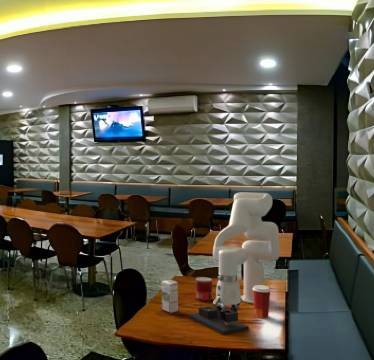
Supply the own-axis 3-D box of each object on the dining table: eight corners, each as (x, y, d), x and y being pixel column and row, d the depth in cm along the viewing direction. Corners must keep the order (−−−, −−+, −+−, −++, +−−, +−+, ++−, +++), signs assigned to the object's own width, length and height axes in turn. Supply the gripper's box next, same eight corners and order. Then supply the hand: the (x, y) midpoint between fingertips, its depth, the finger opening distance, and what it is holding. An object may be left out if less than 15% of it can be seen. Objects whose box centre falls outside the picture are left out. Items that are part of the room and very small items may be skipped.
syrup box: (178, 310, 218) (178, 281, 217) (169, 313, 215) (169, 283, 214) (169, 307, 223) (169, 279, 222) (161, 309, 220) (161, 281, 219)
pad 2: (227, 316, 199) (228, 308, 199) (238, 320, 193) (238, 312, 193) (217, 318, 197) (217, 310, 197) (227, 322, 191) (227, 314, 191)
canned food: (213, 301, 231) (213, 281, 230) (196, 301, 232) (196, 280, 232) (210, 297, 238) (210, 277, 238) (195, 296, 240) (195, 276, 239)
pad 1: (209, 313, 210) (209, 305, 210) (218, 317, 205) (218, 309, 204) (198, 314, 208) (198, 307, 208) (207, 319, 202) (207, 311, 202)
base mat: (212, 313, 214) (212, 304, 213) (248, 329, 193) (248, 319, 193) (189, 317, 209) (189, 308, 208) (223, 334, 188) (223, 324, 188)
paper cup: (269, 314, 211) (269, 285, 211) (271, 320, 204) (272, 290, 203) (251, 312, 214) (251, 284, 213) (253, 318, 207) (253, 288, 206)
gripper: (218, 282, 188) (218, 324, 188) (249, 278, 194) (249, 318, 195) (206, 278, 195) (205, 318, 195) (236, 274, 201) (236, 313, 202)
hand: (227, 318), depth 195 cm, fingers closed on pad 2, 6 cm apart
